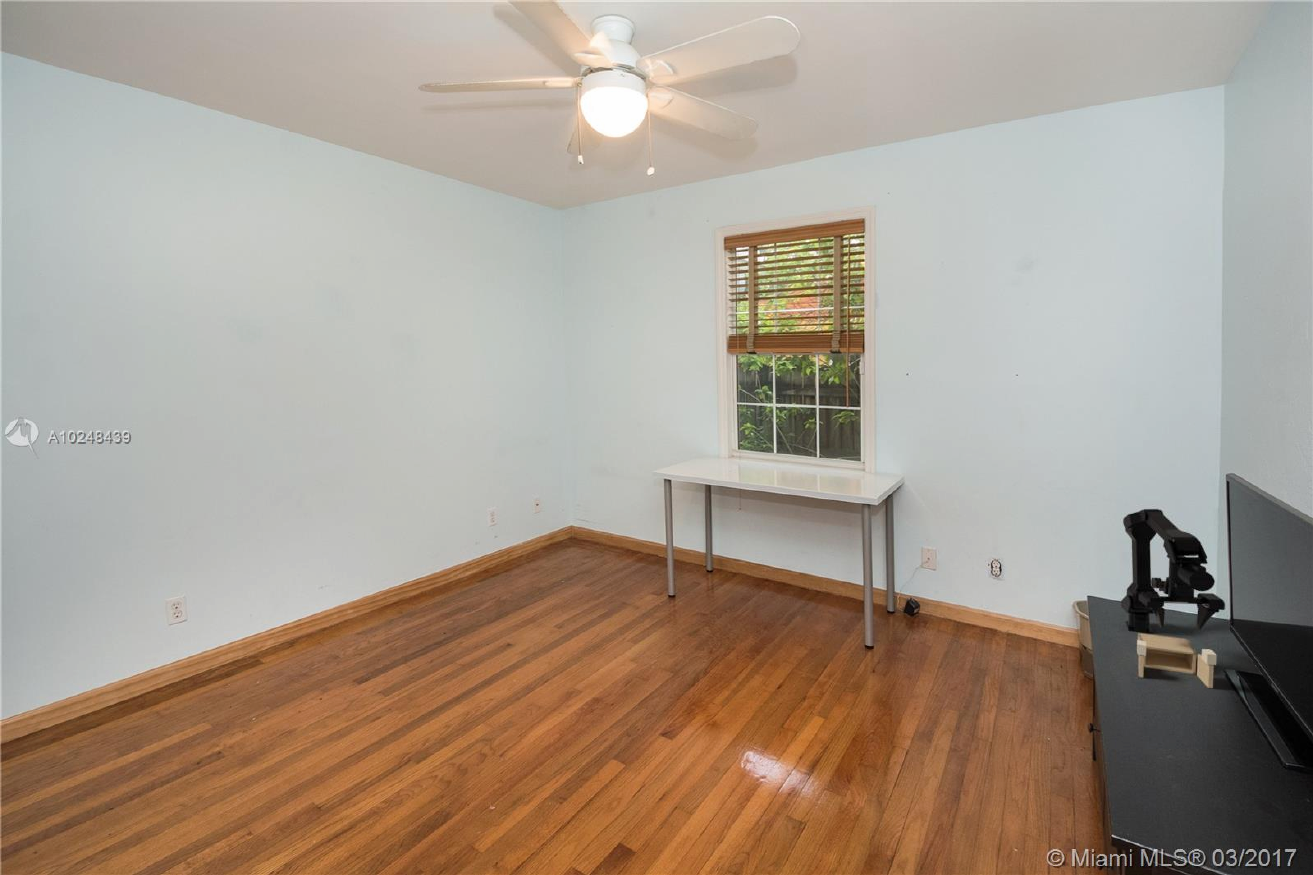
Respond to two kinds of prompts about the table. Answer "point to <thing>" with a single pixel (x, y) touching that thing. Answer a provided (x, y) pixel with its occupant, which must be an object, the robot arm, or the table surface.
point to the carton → (1169, 653)
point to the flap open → (1206, 666)
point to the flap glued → (1141, 655)
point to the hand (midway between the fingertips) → (1179, 627)
